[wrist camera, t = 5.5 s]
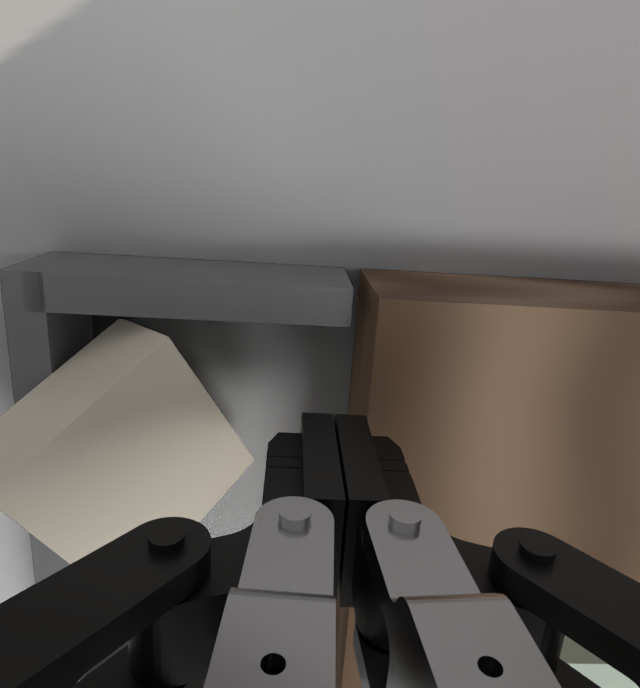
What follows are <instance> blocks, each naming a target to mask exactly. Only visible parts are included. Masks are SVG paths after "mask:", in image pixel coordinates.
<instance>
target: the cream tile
mask: <svg viewBox="0 0 640 688" xmlns="http://www.w3.org/2000/svg"><path fill="white" fill-rule="evenodd" d="M253 461H254V458H253V457H252V455H251V454H250V453H249V451H248V450H247V448H246V447H245V445H244V444H243V443H242V441H241V440H240V438H239V437H238V435H237V434H236V433H235V431H234V430H233V428H232V427H231V425H230V424H229V422H228V421H227V420H226V418H225V417H224V415H223V414H222V412H221V411H220V410H219V408H218V407H217V405H216V404H215V402H214V401H213V400H212V398H211V397H210V395H209V394H208V392H207V391H206V390H205V388H204V387H203V385H202V384H201V382H200V381H199V380H198V378H197V377H196V375H195V374H194V372H193V371H192V370H191V368H190V367H189V365H188V364H187V362H186V361H185V360H184V358H183V357H182V355H181V354H180V352H179V351H178V350H177V348H176V347H175V345H174V344H173V342H172V341H171V340H170V338H169V337H168V336H166V335H163V334H160V333H158V332H155V331H153V330H150V329H148V328H145V327H142V326H140V325H137V324H135V323H132V322H130V321H127V320H125V319H122V318H119V319H118V320H117V321H115V322H114V323H113V324H112V325H111V326H109V327H108V328H107V329H106V330H104V331H103V332H102V333H101V334H100V335H98V336H97V337H96V338H95V339H94V340H92V341H91V342H90V343H89V344H87V345H86V346H85V347H84V348H83V349H81V350H80V351H79V352H78V353H77V354H75V355H74V356H73V357H72V358H70V359H69V360H68V361H67V362H66V363H64V364H63V365H62V366H61V367H60V368H58V369H57V370H56V371H55V372H53V373H52V374H51V375H50V376H49V377H47V378H46V379H45V380H44V381H42V382H41V383H40V384H39V385H38V386H36V387H35V388H34V389H33V390H32V391H30V392H29V393H28V394H27V395H25V396H24V397H23V398H22V399H21V400H19V401H18V402H17V403H16V404H15V405H13V406H12V407H11V408H10V409H8V410H7V411H6V412H5V413H4V414H2V415H1V416H0V510H1V511H2V512H4V513H5V514H6V515H7V516H9V517H10V518H11V519H13V520H14V521H15V522H16V523H18V524H19V525H20V526H22V527H23V528H24V529H25V530H27V531H28V532H29V533H31V534H32V535H33V536H34V537H36V538H37V539H38V540H40V541H41V542H42V543H43V544H45V545H46V546H47V547H49V548H50V549H51V550H52V551H54V552H55V553H56V554H58V555H59V556H60V557H61V558H63V559H64V560H65V561H67V562H68V563H69V564H72V563H74V562H75V561H77V560H79V559H81V558H82V557H84V556H86V555H88V554H90V553H91V552H93V551H95V550H97V549H98V548H100V547H102V546H104V545H106V544H107V543H109V542H111V541H113V540H114V539H116V538H118V537H120V536H122V535H123V534H125V533H127V532H129V531H130V530H132V529H134V528H136V527H138V526H139V525H141V524H143V523H146V522H148V521H151V520H154V519H158V518H164V517H184V518H189V519H192V520H195V521H197V522H199V523H200V521H201V520H202V519H203V518H204V517H205V516H206V515H207V513H208V512H209V511H210V510H211V509H212V508H213V507H214V506H215V504H216V503H217V502H218V501H219V500H220V499H221V498H222V497H223V495H224V494H225V493H226V492H227V491H228V490H229V489H230V487H231V486H232V485H233V484H234V483H235V482H236V481H237V480H238V478H239V477H240V476H241V475H242V474H243V473H244V472H245V471H246V469H247V468H248V467H249V466H250V465H251V464H252V463H253Z"/></svg>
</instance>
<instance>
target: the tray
mask: <svg viewBox="0 0 640 688" xmlns="http://www.w3.org/2000/svg"><path fill="white" fill-rule="evenodd" d="M0 283H1V292H2V300H3V309H4V317H5V326H6V334H7V343H8V351H9V360H10V369H11V377H12V386H13V394H14V403H15V404H16V403H17V402H18V401H19V400H21V399H22V398H23V397H24V396H25V395H27V394H28V393H29V392H30V391H32V390H33V389H34V388H35V387H36V386H38V385H39V384H40V383H41V382H42V381H44V380H45V379H46V378H47V377H49V376H50V375H51V374H52V373H53V372H55V371H56V370H57V369H58V368H60V367H61V366H62V365H63V364H64V363H66V362H67V361H68V360H69V359H70V358H72V357H73V356H74V355H75V354H77V353H78V352H79V351H80V350H81V349H83V348H84V347H85V346H86V345H87V344H89V343H90V342H91V341H92V340H93V327H92V315H105V316H126V317H146V318H167V319H188V320H208V321H229V322H249V323H270V324H290V325H311V326H331V327H351V315H352V303H353V291H354V288H353V286H352V284H351V282H350V280H349V278H348V276H347V274H346V271H345V269H344V268H343V267H324V266H306V265H288V264H270V263H252V262H234V261H216V260H197V259H179V258H161V257H143V256H125V255H107V254H89V253H70V252H49V253H47V254H44V255H41V256H38V257H35V258H32V259H29V260H26V261H23V262H20V263H17V264H15V265H12V266H9V267H6V268H3V269H0ZM30 540H31V548H32V557H33V565H34V574H35V583H38V582H40V581H42V580H43V579H45V578H47V577H49V576H51V575H52V574H54V573H56V572H58V571H59V570H61V569H63V568H65V567H67V566H68V565H70V564H69V563H68V562H67V561H65V560H64V559H63V558H61V557H60V556H59V555H58V554H56V553H55V552H54V551H52V550H51V549H50V548H49V547H47V546H46V545H45V544H43V543H42V542H41V541H40V540H38V539H37V538H36V537H34V536H33V535H32V534H31V533H30ZM127 645H128V642H126V643H125V644H124V645H122V646H121V647H119V648H118V649H117V650H115V651H114V652H113V653H111V654H110V655H109V656H107V657H106V658H105V659H103V660H102V661H101V662H99V663H98V664H97V665H95V666H94V667H93V668H91V669H90V670H89V671H88V672H86V673H85V674H84V675H83V676H82V677H81V678H80V679H79V681H80V680H81V679H83V678H84V677H85V676H87V675H88V674H89V673H91V672H92V671H93V670H95V669H96V668H97V667H99V666H100V665H101V664H103V663H104V662H105V661H107V660H108V659H109V658H111V657H112V656H113V655H115V654H116V653H117V652H119V651H120V650H121V649H123V648H124V647H125V646H127ZM79 681H78V682H79Z"/></svg>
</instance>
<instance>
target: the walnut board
mask: <svg viewBox="0 0 640 688" xmlns="http://www.w3.org/2000/svg"><path fill="white" fill-rule="evenodd" d="M348 414H349V415H366V417H367V421H368V425H369V428H370V432H371V435H372V436H388V437H389V438H390V439H391V440H392V441H394V442H395V443H396V444H397V445H398V446H399V447H401V450H402V452H403V455H404V458H405V463H407V466H408V468H409V473H410V474H411V477H412V479H413V482H414V485H415V487H416V490H417V493H418V495H419V498H420V501H421V503H422V505H424V506H426V507H428V508H429V509H431V510H432V511H434V512H435V513H436V514H437V515H438V516H439V517H440V518H441V520H442V521H443V523H444V525H445V527H446V529H447V531H448V533H449V535H450V536H452V537H455V538H458V539H460V540H464V541H467V542H471V543H475V544H480V545H484V546H488V547H492V546H493V541H494V538H495V536H496V535H497V534H498V533H499V532H500V531H502V530H505V529H508V528H514V527H523V528H531V529H536V530H539V531H543V532H545V533H548V534H550V535H552V536H554V537H556V538H558V539H560V540H562V541H564V542H566V543H567V544H569V545H571V546H573V547H575V548H577V549H578V550H580V551H582V552H584V553H586V554H588V555H589V556H591V557H593V558H595V559H597V560H598V561H600V562H602V563H604V564H606V565H608V566H609V567H611V568H613V569H615V570H617V571H619V572H620V573H622V574H624V575H626V576H628V577H630V578H631V579H633V580H635V581H637V582H639V583H640V284H633V283H615V282H597V281H578V280H560V279H542V278H524V277H506V276H488V275H470V274H451V273H433V272H415V271H397V270H379V269H361V268H360V277H359V289H358V300H357V312H356V324H355V336H354V347H353V359H352V371H351V382H350V394H349V406H348ZM354 626H355V612H354V607H339V597H338V590H337V602H336V660H335V688H362V685H361V680H360V675H359V671H358V666H357V661H356V656H355V652H354V647H353V636H354Z"/></svg>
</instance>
